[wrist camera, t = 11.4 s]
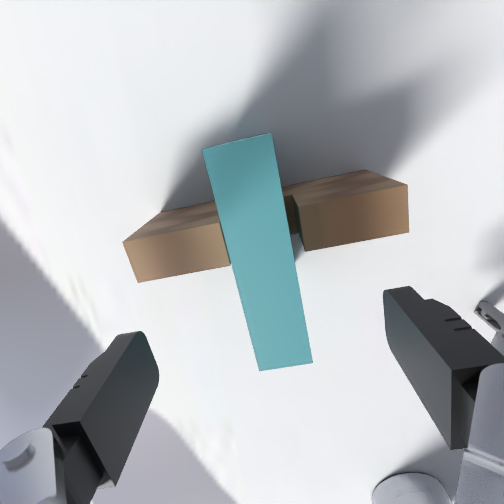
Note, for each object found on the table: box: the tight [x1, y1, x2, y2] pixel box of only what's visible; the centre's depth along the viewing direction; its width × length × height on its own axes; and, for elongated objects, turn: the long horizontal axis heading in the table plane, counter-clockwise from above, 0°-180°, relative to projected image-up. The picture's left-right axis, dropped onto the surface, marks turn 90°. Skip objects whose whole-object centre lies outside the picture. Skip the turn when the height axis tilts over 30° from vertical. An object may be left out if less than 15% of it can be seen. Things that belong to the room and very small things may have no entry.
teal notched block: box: [202, 133, 313, 371], centre depth 21 cm, size 12×3×13 cm, turn 12°
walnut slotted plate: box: [122, 170, 409, 283], centre depth 23 cm, size 18×3×8 cm, turn 102°
